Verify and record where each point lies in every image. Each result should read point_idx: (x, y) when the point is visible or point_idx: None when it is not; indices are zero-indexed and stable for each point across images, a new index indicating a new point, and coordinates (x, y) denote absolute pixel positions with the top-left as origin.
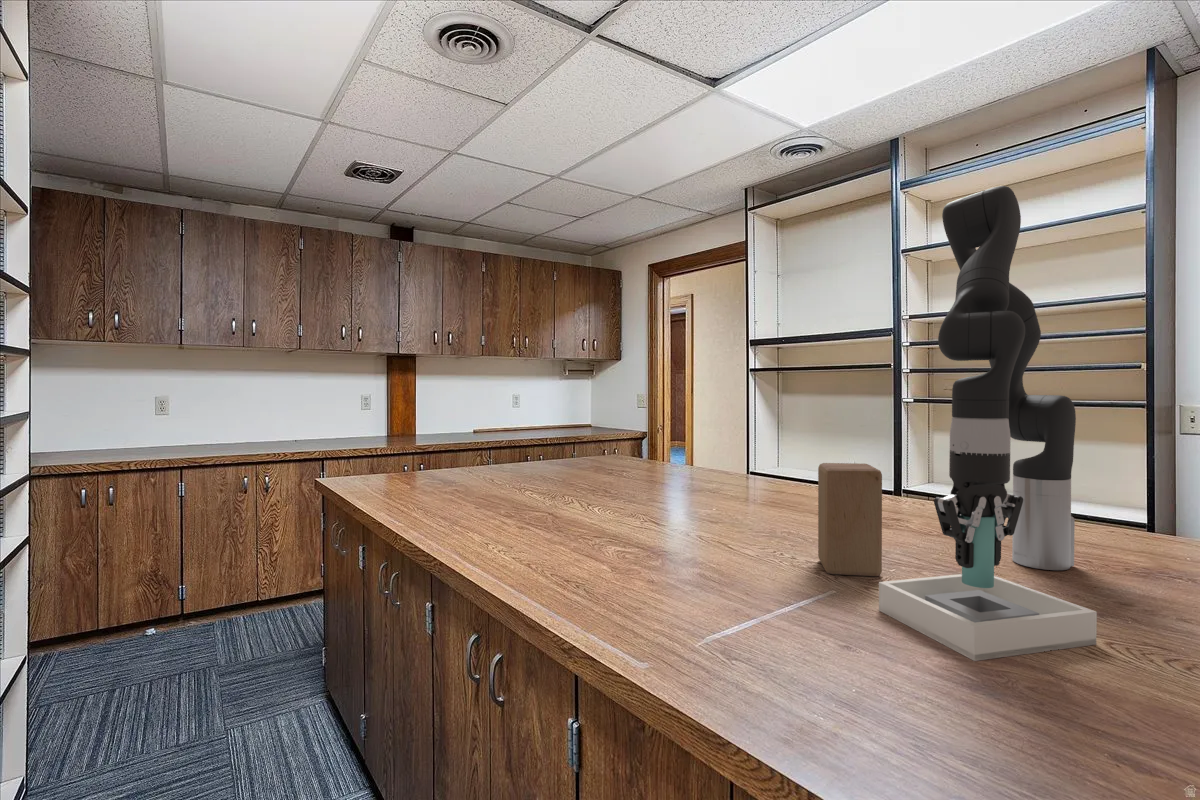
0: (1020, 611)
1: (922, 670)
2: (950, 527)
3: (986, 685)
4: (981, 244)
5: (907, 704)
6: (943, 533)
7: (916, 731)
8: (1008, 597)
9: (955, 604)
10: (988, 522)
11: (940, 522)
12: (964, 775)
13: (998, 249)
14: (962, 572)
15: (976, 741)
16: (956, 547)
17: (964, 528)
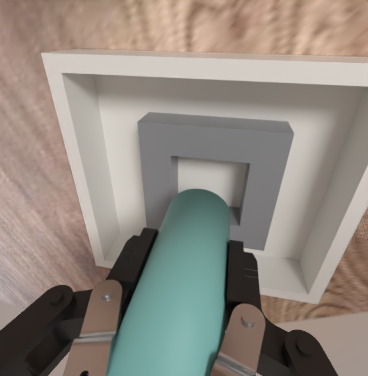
0: (242, 236)
1: (50, 226)
2: (58, 322)
3: (93, 261)
4: None
5: (13, 254)
6: (49, 291)
7: (7, 273)
8: (350, 155)
9: (160, 179)
10: None
11: (4, 331)
12: (18, 300)
13: None
14: (166, 213)
15: (40, 291)
16: (114, 268)
17: (118, 331)
